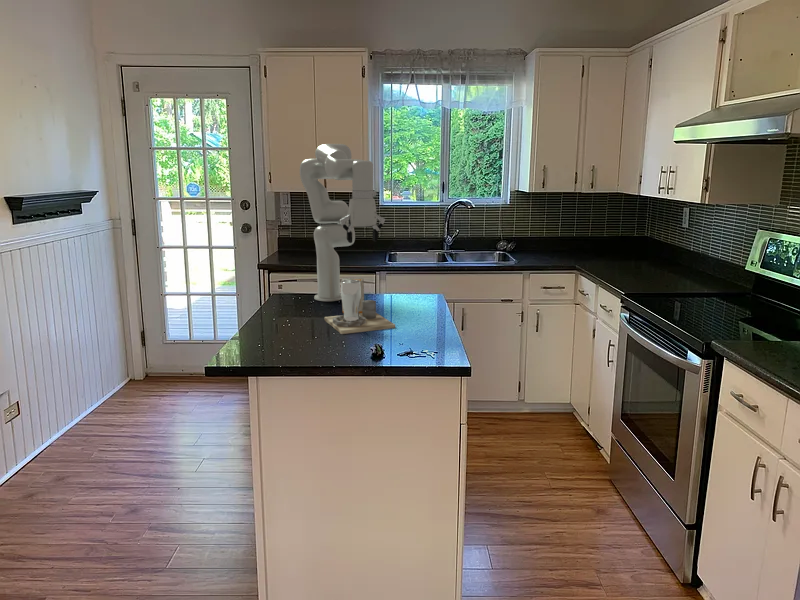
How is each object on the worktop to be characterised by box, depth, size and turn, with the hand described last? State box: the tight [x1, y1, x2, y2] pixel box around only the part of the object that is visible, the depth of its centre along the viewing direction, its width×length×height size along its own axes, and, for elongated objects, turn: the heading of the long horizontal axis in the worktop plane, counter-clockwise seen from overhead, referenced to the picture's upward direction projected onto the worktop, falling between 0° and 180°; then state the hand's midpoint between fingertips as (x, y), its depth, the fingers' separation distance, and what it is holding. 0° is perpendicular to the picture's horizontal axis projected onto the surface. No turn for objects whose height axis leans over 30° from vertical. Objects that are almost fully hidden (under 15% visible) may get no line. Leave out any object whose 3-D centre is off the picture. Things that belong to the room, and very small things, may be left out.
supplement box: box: [340, 277, 365, 314], centre depth 230 cm, size 8×5×13 cm, turn 84°
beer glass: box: [340, 279, 361, 322], centre depth 209 cm, size 7×7×15 cm
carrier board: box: [324, 299, 396, 335], centre depth 213 cm, size 20×20×7 cm
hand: (362, 241), depth 220 cm, fingers open, 9 cm apart
